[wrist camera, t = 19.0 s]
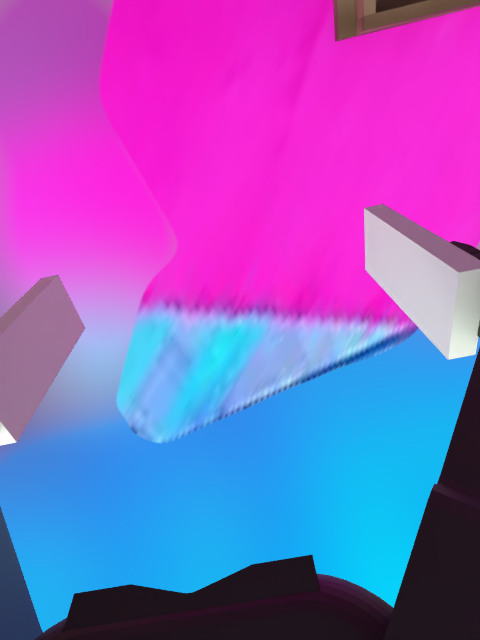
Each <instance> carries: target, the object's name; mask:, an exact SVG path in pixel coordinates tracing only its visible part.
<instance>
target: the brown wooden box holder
mask: <svg viewBox="0 0 480 640" xmlns="http://www.w3.org/2000/svg"><path fill="white" fill-rule="evenodd" d="M333 4H334V24H335V41H340V40H344V39H348V38H352V37H356V36H360V35H364V34H368V33H372V32H376V31H380V30H384V29H388V28H393V27H397V26H401V25H405V24H409V23H413V22H417V21H421V20H425V19H429V18H433V17H437V16H441V15H446V14H450V13H454V12H458V11H462V10H466V9H470V8H474V7H478V6H480V0H333Z"/></svg>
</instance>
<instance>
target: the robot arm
mask: <svg viewBox="0 0 480 640" xmlns="http://www.w3.org/2000/svg"><path fill="white" fill-rule="evenodd" d="M364 226H365V270H366V271H367V272H368V273H369V274H370V275H371V276H372V277H373V278H374V279H375V281H376V282H377V283H378V284H379V285H380V286H381V287H382V288H383V289H384V290H385V291H386V293H387V294H388V295H389V296H390V297H391V298H392V299H393V300H394V301H395V302H396V303H397V305H398V306H399V307H400V308H401V309H402V310H403V311H404V312H405V313H406V314H407V315H408V317H409V318H410V319H411V320H412V321H413V322H414V323H415V324H416V325H417V326H418V327H419V329H420V330H421V331H422V332H423V333H424V334H425V335H426V336H427V337H428V338H429V339H430V340H431V341H432V343H433V344H434V345H435V346H436V347H437V348H438V349H439V350H440V351H441V352H442V354H443V355H444V356H445V357H446V358H447V359H448V360H449V359H454V358H460V357H465V356H470V355H475V353H476V347H477V342H478V337H480V250H478V249H476V248H474V247H473V246H471V245H468V244H464V243H460V242H455V241H452V242H448V241H446V240H444V239H443V238H441V237H439V236H437V235H436V234H434V233H432V232H430V231H429V230H427V229H425V228H423V227H422V226H420V225H418V224H417V223H415V222H413V221H411V220H410V219H408V218H406V217H404V216H403V215H401V214H399V213H398V212H396V211H394V210H392V209H391V208H389V207H387V206H385V205H384V204H381V205H376V206H372V207H367V208H364ZM84 329H85V327H84V325H83V323H82V321H81V319H80V317H79V315H78V313H77V311H76V309H75V307H74V305H73V303H72V301H71V299H70V297H69V295H68V293H67V291H66V289H65V287H64V285H63V283H62V281H61V280H60V278H59V276H58V275H55V276H51V277H46V278H41V279H40V280H39V281H38V282H37V283H36V284H35V285H34V286H33V287H32V288H31V289H30V290H29V291H28V292H27V293H26V294H25V295H24V296H23V297H21V299H19V301H17V302H16V303H15V304H14V305H13V306H12V307H11V308H10V309H9V310H8V311H7V312H6V313H5V314H4V315H3V316H2V317H1V318H0V445H5V444H9V443H15V442H17V441H18V439H19V437H20V436H21V434H22V432H23V430H24V429H25V427H26V426H27V424H28V422H29V420H30V419H31V417H32V416H33V414H34V412H35V410H36V409H37V407H38V406H39V404H40V402H41V401H42V399H43V397H44V395H45V394H46V392H47V391H48V389H49V387H50V386H51V384H52V382H53V381H54V379H55V377H56V376H57V374H58V372H59V371H60V369H61V367H62V366H63V364H64V362H65V361H66V359H67V357H68V356H69V354H70V352H71V351H72V349H73V348H74V346H75V344H76V343H77V341H78V339H79V338H80V336H81V334H82V332H83V331H84ZM0 640H480V348H479V352H478V355H477V358H476V361H475V364H474V368H473V371H472V374H471V377H470V381H469V384H468V387H467V391H466V394H465V397H464V400H463V403H462V406H461V410H460V413H459V416H458V419H457V423H456V426H455V429H454V432H453V436H452V439H451V442H450V445H449V449H448V452H447V456H446V458H445V462H444V465H443V468H442V471H441V475H440V478H439V480H438V483H437V484H434V486H433V488H432V490H431V493H430V496H429V499H428V502H427V505H426V508H425V511H424V514H423V518H422V520H421V524H420V527H419V530H418V533H417V536H416V539H415V543H414V546H413V549H412V552H411V555H410V558H409V561H408V564H407V568H406V571H405V574H404V577H403V580H402V584H401V587H400V590H399V593H398V596H397V599H396V602H395V605H394V608H393V607H392V606H390V605H389V604H387V603H386V602H385V601H384V600H382V599H381V598H380V597H378V596H376V595H375V594H373V593H371V592H369V591H368V590H366V589H364V588H363V587H360V586H358V585H356V584H353V583H351V582H349V581H347V580H344V579H340V578H337V577H333V576H329V575H323V574H317V575H316V570H315V566H314V561H313V556H312V555H308V556H302V557H296V558H290V559H283V560H277V561H271V562H265V563H259V564H253V565H250V566H248V567H246V568H244V569H242V570H240V571H238V572H236V573H234V574H232V575H229V576H227V577H225V578H223V579H221V580H219V581H217V582H215V583H213V584H210V585H209V586H206V587H204V588H202V589H200V590H198V591H195V592H193V593H178V592H173V591H167V590H161V589H155V588H149V587H143V586H137V585H125V586H119V587H113V588H106V589H100V590H94V591H88V592H82V593H76V594H74V597H73V600H72V603H71V607H70V610H69V613H68V617H67V618H66V619H64V620H62V621H61V622H59V623H57V624H56V625H54V626H52V627H51V628H49V629H48V630H46V631H45V632H44V633H43V632H42V630H41V627H40V624H39V621H38V618H37V615H36V612H35V609H34V606H33V603H32V601H31V597H30V594H29V591H28V588H27V585H26V582H25V580H24V576H23V573H22V570H21V567H20V564H19V561H18V558H17V555H16V553H15V549H14V547H13V543H12V541H11V537H10V534H9V531H8V528H7V525H6V523H5V519H4V517H3V513H2V511H1V508H0Z"/></svg>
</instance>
